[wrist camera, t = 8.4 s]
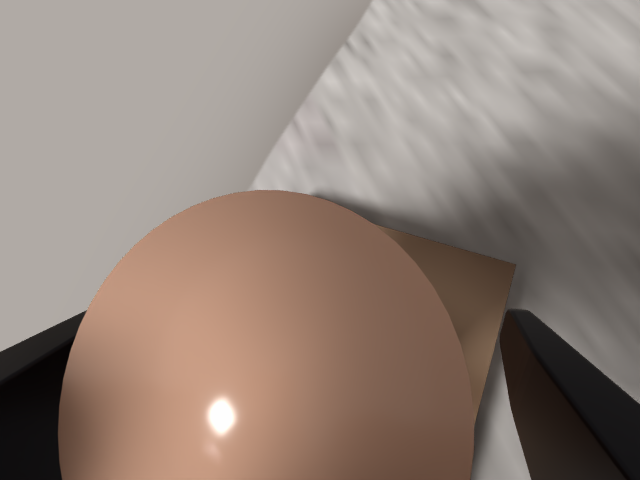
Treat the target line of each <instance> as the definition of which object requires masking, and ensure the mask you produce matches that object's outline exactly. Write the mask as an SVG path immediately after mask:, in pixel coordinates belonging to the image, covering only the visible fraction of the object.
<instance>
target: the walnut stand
mask: <svg viewBox="0 0 640 480" xmlns="http://www.w3.org/2000/svg"><path fill="white" fill-rule="evenodd" d="M374 225H376V224H374ZM376 226H377V227H378V228H379V229H381V230H382V231H383V232H384V233H386V234H387V235H388V236H389V237H390V238H392V239H393V240H394V241H395V242H396V243H397V244H398V245H399V246H400V247H401V248H402V249H403V250H404V251H405V252H406V253H407V254H408V255H409V256H410V257H411V258H412V259H413V260H414V261H415V262H416V264H417V265H418V266H419V268H420V269H421V271H422V272H423V273H424V275H425V276H426V277H427V279H428V280H429V281H430V283H431V284H432V286H433V287H434V289H435V291H436V292H437V294H438V296H439V298H440V300H441V301H442V303H443V305H444V307H445V309H446V310H447V312H448V314H449V316H450V319H451V321H452V324H453V326H454V329H455V331H456V334H457V336H458V339H459V341H460V344H461V347H462V351H463V355H464V359H465V363H466V366H467V370H468V374H469V378H470V386H471V393H472V401H473V409H474V425H475V421H476V417H477V413H478V409H479V405H480V402H481V398H482V394H483V390H484V386H485V382H486V378H487V375H488V371H489V367H490V363H491V359H492V355H493V351H494V348H495V344H496V340H497V336H498V332H499V328H500V324H501V321H502V317H503V313H504V309H505V305H506V301H507V297H508V294H509V290H510V286H511V282H512V278H513V274H514V270H515V267H516V264H512V263H509V262H505V261H502V260H498V259H495V258H491V257H488V256H484V255H481V254H477V253H474V252H470V251H467V250H463V249H460V248H456V247H453V246H449V245H446V244H442V243H439V242H435V241H432V240H428V239H425V238H421V237H418V236H414V235H411V234H407V233H404V232H400V231H397V230H393V229H390V228H386V227H383V226H379V225H376Z"/></svg>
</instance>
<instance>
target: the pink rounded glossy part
mask: <svg viewBox="0 0 640 480" xmlns="http://www.w3.org/2000/svg"><path fill="white" fill-rule="evenodd" d="M58 444H59V463H60V469H61V476H62V480H470V477H471V469H472V461H473V454H474V409H473V401H472V393H471V386H470V378H469V374H468V370H467V366H466V363H465V359H464V355H463V351H462V347H461V344H460V341H459V339H458V336H457V334H456V331H455V329H454V326H453V324H452V321H451V319H450V316H449V314H448V312H447V310H446V309H445V307H444V305H443V303H442V301H441V300H440V298H439V296H438V294H437V292H436V291H435V289H434V287H433V286H432V284H431V283H430V281H429V280H428V279H427V277H426V276H425V275H424V273H423V272H422V271H421V269H420V268H419V266H418V265H417V264H416V262H415V261H414V260H413V259H412V258H411V257H410V256H409V255H408V254H407V253H406V252H405V251H404V250H403V249H402V248H401V247H400V246H399V245H398V244H397V243H396V242H395V241H394V240H393V239H392V238H390V237H389V236H388V235H387V234H386V233H384V232H383V231H382V230H381V229H379V228H378V227H377V226H376V225H374V224H373V223H371V222H369V221H368V220H366V219H364V218H363V217H361V216H360V215H358V214H356V213H355V212H353V211H351V210H349V209H346V208H344V207H342V206H340V205H337V204H335V203H333V202H331V201H328V200H324V199H321V198H317V197H314V196H311V195H307V194H302V193H295V192H288V191H280V190H255V191H247V192H238V193H233V194H228V195H224V196H221V197H216V198H213V199H210V200H207V201H205V202H202V203H199V204H197V205H194V206H192V207H190V208H188V209H186V210H184V211H182V212H180V213H178V214H176V215H174V216H173V217H171V218H169V219H168V220H167V221H165V222H163V223H162V224H161V225H159V226H158V227H156V228H155V229H153V230H152V231H151V232H150V233H148V234H147V235H146V236H145V237H144V238H143V239H141V240H140V241H139V242H138V243H137V244H136V245H134V246H133V248H132V249H131V250H130V251H129V252H128V253H127V254H126V255H125V256H124V257H123V258H122V259H121V260H120V261H119V262H118V264H117V265H116V266H115V268H114V269H113V270H112V272H111V273H110V274H109V276H108V277H107V278H106V279H105V281H104V282H103V284H102V285H101V287H100V289H99V290H98V292H97V294H96V295H95V297H94V298H93V300H92V302H91V304H90V305H89V307H88V310H87V312H86V314H85V316H84V318H83V320H82V322H81V324H80V326H79V329H78V332H77V334H76V337H75V340H74V343H73V345H72V348H71V351H70V354H69V358H68V362H67V366H66V370H65V374H64V378H63V385H62V391H61V398H60V405H59V423H58Z"/></svg>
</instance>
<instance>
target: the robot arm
mask: <svg viewBox="0 0 640 480" xmlns="http://www.w3.org/2000/svg"><path fill="white" fill-rule="evenodd" d="M86 312H87V310H86V311H84V312H82V313H80V314H78V315H76V316H74V317H72V318H70V319H68V320H65V321H64V322H61V323H59V324H57V325H55V326H53V327H51V328H49V329H47V330H45V331H43V332H41V333H39V334H36V335H34V336H32V337H30V338H28V339H26V340H24V341H22V342H20V343H18V344H16V345H14V346H12V347H9V348H7V349H6V350H3V351H1V352H0V480H62V476H61V469H60V463H59V444H58V423H59V405H60V398H61V391H62V385H63V378H64V374H65V370H66V366H67V362H68V358H69V354H70V351H71V348H72V345H73V343H74V340H75V337H76V334H77V332H78V329H79V326H80V324H81V322H82V320H83V318H84V316H85V314H86ZM500 347H501V353H502V359H503V365H504V371H505V377H506V383H507V389H508V395H509V401H510V406H511V410H512V414H513V418H514V422H515V425H516V429H517V432H518V435H519V439H520V442H521V446H522V449H523V453H524V456H525V459H526V463H527V466H528V470H529V473H530V477H531V480H640V404H639V403H638V402H637V401H635V400H634V399H633V398H632V397H631V396H629V395H628V394H627V393H626V392H625V391H624V390H622V389H621V388H620V387H619V386H618V385H616V384H615V383H614V382H613V381H612V380H611V379H609V378H608V377H607V376H606V375H605V374H603V373H602V372H601V371H600V370H599V369H598V368H596V367H595V366H594V365H593V364H592V363H590V362H589V361H588V360H587V359H586V358H585V357H583V356H582V355H581V354H580V353H579V352H578V351H576V350H575V349H574V348H573V347H572V346H570V345H569V344H568V343H567V342H566V341H565V340H563V339H562V338H561V337H560V336H559V335H557V334H556V333H555V332H554V331H553V330H552V329H550V328H549V327H548V326H547V325H546V324H544V323H543V322H542V321H541V320H540V319H539V318H537V317H536V316H535V315H534V314H533V313H531V312H530V311H528V310H522V309H509V310H508V311H507V312H506V315H505V318H504V322H503V326H502V329H501V333H500Z"/></svg>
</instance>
